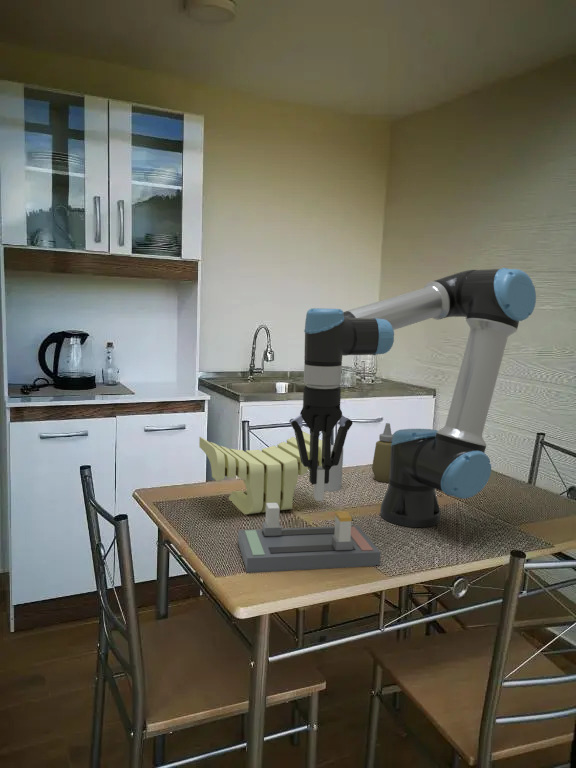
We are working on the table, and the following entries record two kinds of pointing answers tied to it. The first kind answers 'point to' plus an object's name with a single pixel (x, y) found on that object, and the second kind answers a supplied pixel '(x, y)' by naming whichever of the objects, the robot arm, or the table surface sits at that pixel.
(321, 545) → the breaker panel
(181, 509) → the table surface
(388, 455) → the squeeze bottle
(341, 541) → the handle
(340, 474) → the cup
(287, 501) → the slatted curved stool
